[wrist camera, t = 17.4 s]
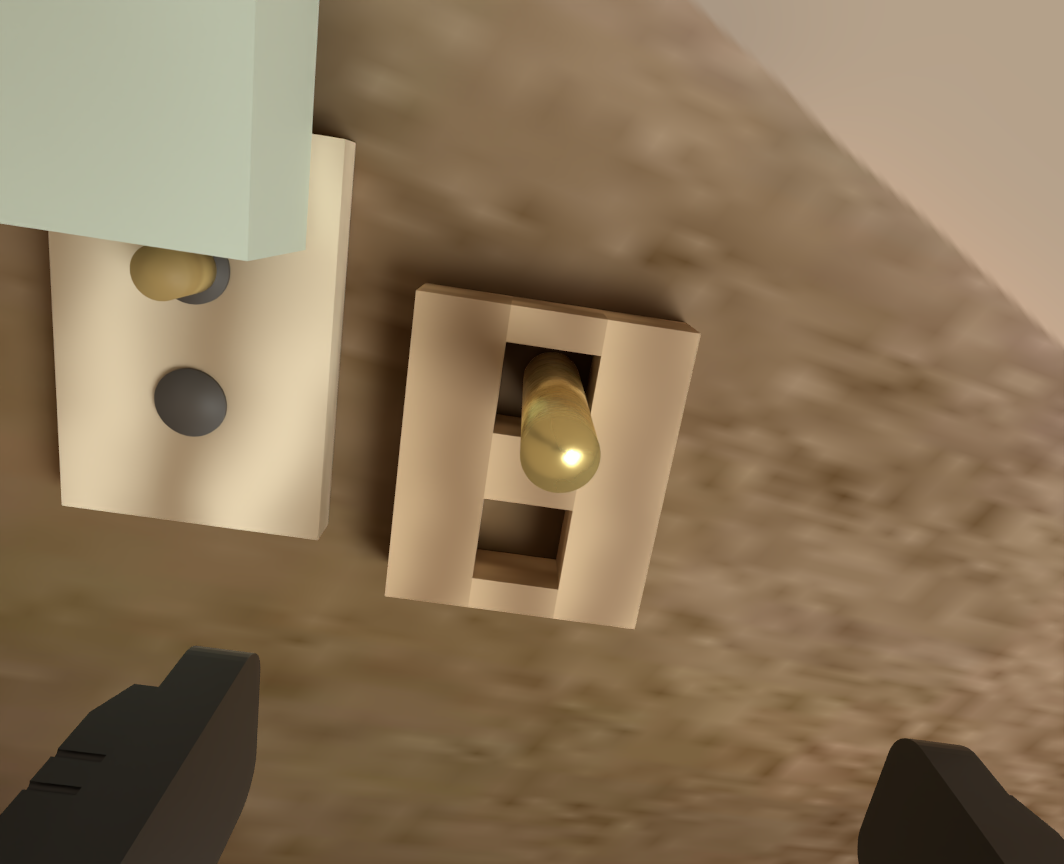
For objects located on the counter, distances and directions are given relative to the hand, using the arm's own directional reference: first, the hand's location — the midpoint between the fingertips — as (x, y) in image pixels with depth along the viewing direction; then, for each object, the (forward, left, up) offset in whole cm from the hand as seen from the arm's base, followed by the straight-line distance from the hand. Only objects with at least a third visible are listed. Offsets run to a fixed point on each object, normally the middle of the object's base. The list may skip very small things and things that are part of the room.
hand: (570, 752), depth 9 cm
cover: (-13, +9, -18) cm, 24 cm away
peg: (0, 0, -20) cm, 20 cm away
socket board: (0, -3, -20) cm, 20 cm away
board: (-13, 0, -20) cm, 24 cm away
